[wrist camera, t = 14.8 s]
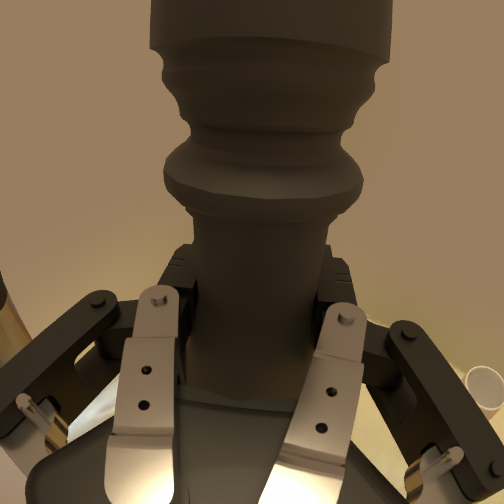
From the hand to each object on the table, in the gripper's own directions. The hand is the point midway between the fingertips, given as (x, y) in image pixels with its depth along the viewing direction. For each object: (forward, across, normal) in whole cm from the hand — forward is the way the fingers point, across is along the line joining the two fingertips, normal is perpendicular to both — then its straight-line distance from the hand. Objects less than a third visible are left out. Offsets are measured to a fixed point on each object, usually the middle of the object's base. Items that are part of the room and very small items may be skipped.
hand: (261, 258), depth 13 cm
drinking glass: (+6, -26, +34) cm, 43 cm away
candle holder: (-3, 0, +14) cm, 14 cm away
